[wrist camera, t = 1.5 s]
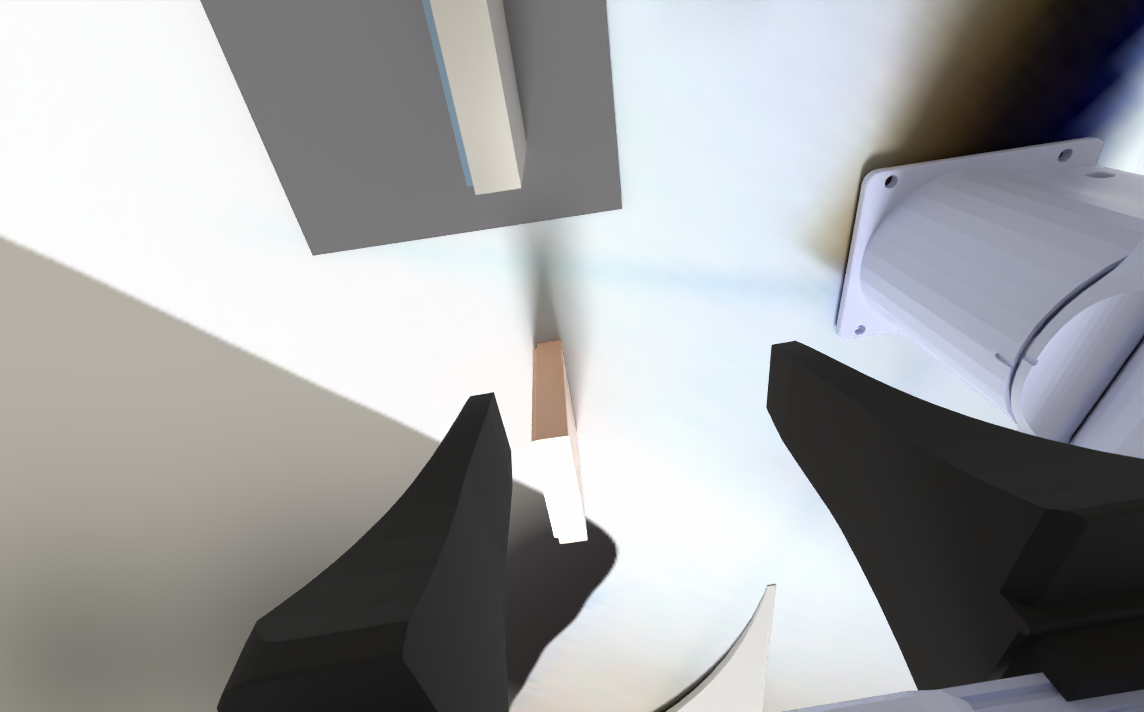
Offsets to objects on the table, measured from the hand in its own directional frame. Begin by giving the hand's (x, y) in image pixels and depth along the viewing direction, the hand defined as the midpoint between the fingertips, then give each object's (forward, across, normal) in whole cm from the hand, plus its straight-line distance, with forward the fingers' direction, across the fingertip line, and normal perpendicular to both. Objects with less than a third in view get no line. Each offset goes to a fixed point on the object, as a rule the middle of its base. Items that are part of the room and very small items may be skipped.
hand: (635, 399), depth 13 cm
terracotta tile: (+11, +3, +7) cm, 13 cm away
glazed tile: (+10, +2, -8) cm, 13 cm away
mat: (+11, +5, -8) cm, 14 cm away
